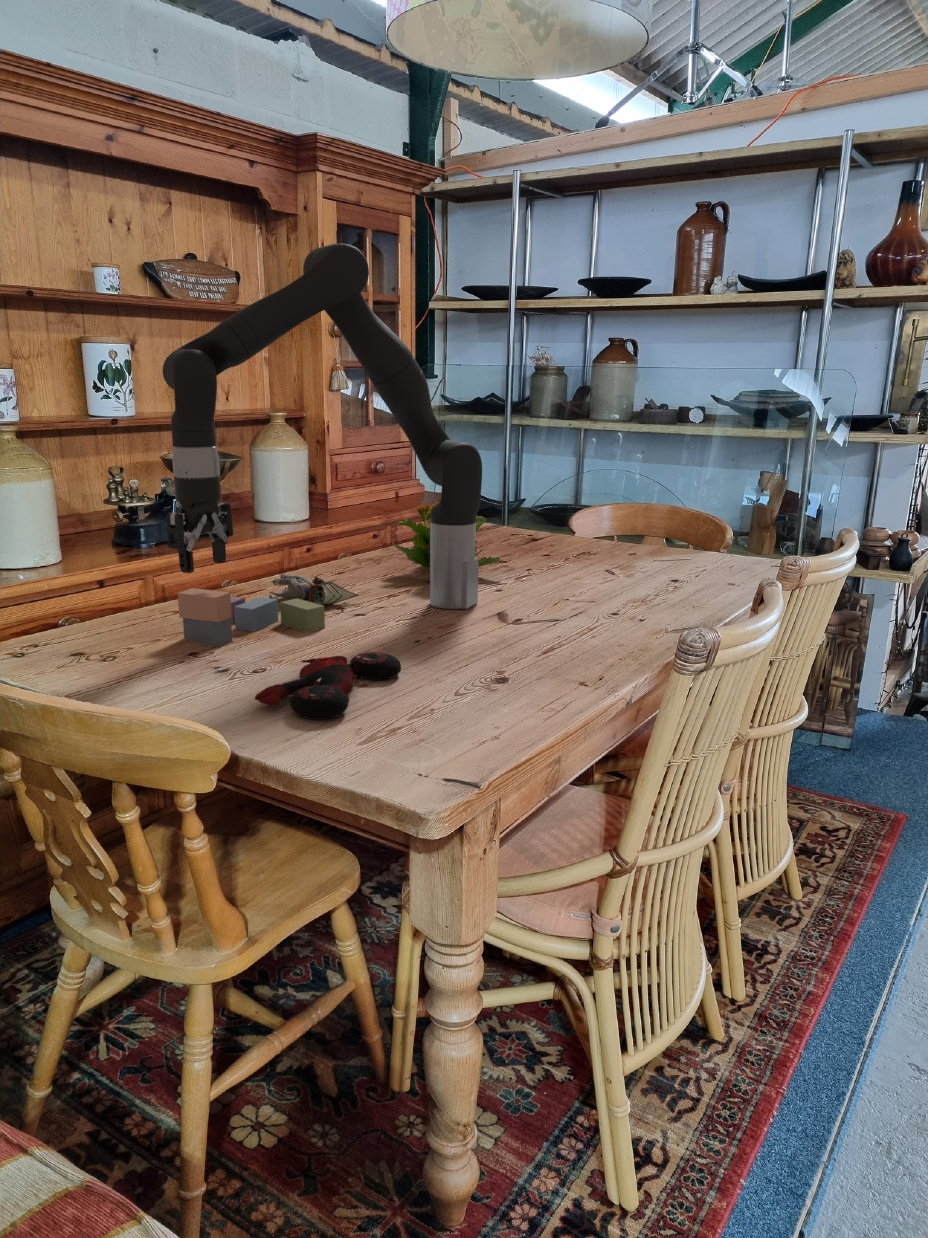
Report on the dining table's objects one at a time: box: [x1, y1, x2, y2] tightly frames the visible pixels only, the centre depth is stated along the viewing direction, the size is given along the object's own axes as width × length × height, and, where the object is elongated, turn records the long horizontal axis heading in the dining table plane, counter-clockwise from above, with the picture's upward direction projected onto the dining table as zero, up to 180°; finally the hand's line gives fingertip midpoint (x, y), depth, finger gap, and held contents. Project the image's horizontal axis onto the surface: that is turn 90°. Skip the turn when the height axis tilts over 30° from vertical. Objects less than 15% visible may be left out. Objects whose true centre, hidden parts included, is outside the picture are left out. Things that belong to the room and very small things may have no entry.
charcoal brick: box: [182, 618, 233, 648], centre depth 154 cm, size 8×4×4 cm, turn 55°
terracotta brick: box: [177, 587, 231, 622], centre depth 153 cm, size 8×4×4 cm, turn 69°
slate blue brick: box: [234, 596, 279, 633], centre depth 164 cm, size 8×4×4 cm, turn 158°
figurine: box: [268, 572, 360, 606], centre depth 180 cm, size 20×6×17 cm
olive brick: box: [279, 599, 326, 633], centre depth 164 cm, size 8×4×4 cm, turn 49°
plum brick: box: [230, 595, 246, 625], centre depth 167 cm, size 8×4×4 cm, turn 67°
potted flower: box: [391, 502, 504, 571], centre depth 205 cm, size 25×24×18 cm
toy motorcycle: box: [254, 651, 402, 720], centre depth 131 cm, size 25×5×16 cm
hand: (204, 567), depth 151 cm, fingers open, 8 cm apart
